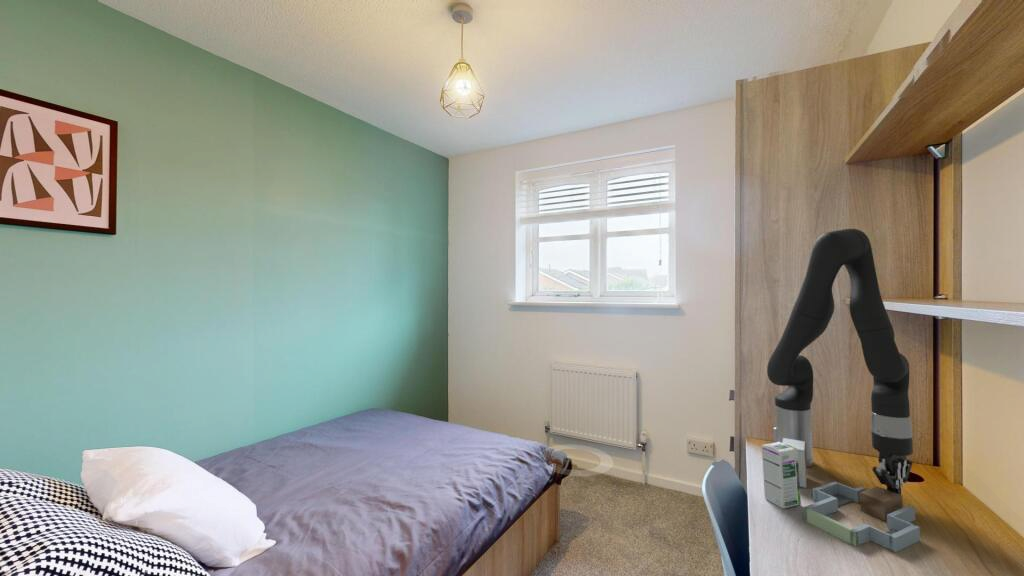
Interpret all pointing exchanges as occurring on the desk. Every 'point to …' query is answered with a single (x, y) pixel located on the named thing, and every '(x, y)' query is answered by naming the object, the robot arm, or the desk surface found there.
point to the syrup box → (781, 474)
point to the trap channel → (893, 539)
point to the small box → (799, 458)
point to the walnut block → (880, 502)
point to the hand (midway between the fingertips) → (894, 500)
